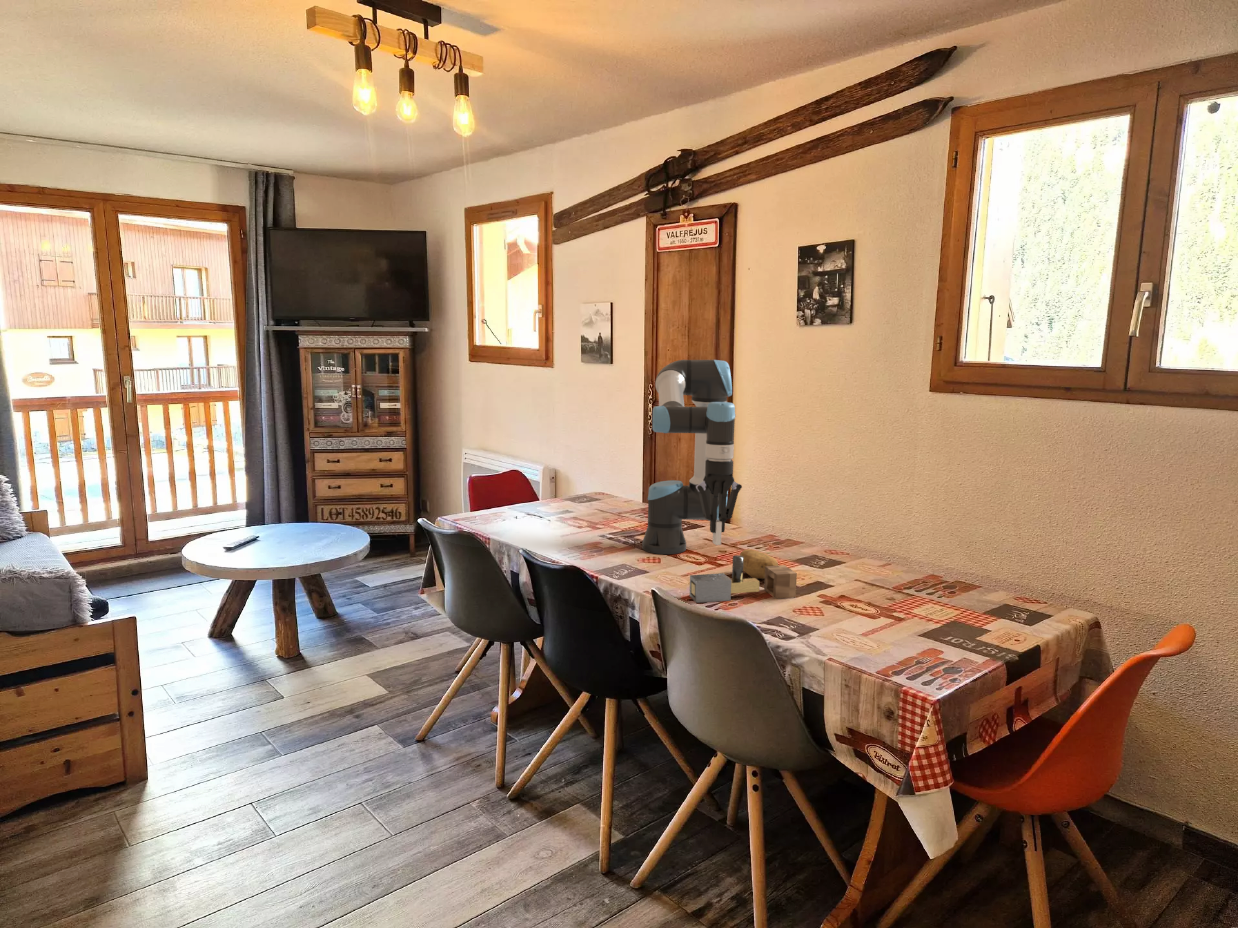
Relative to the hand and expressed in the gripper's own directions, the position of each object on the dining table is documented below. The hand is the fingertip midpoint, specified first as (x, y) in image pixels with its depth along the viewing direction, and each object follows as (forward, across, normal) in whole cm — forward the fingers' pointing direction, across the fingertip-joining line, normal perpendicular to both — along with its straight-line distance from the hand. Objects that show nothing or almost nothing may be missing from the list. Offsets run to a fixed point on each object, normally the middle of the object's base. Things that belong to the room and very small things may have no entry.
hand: (716, 543), depth 213 cm
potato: (+16, +20, +16) cm, 29 cm away
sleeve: (+16, -1, 0) cm, 16 cm away
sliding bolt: (+14, +3, 0) cm, 14 cm away
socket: (+16, +20, 0) cm, 25 cm away
